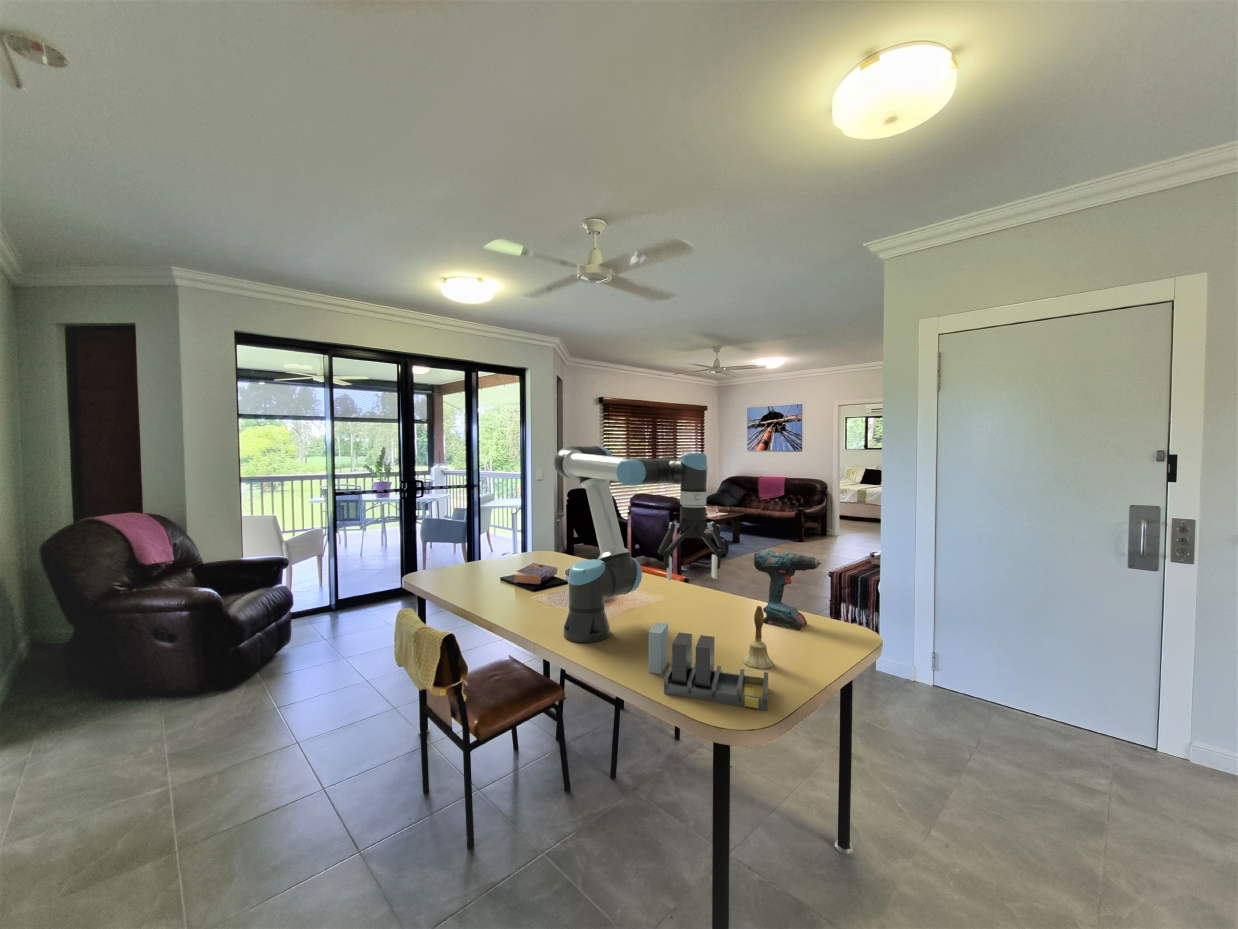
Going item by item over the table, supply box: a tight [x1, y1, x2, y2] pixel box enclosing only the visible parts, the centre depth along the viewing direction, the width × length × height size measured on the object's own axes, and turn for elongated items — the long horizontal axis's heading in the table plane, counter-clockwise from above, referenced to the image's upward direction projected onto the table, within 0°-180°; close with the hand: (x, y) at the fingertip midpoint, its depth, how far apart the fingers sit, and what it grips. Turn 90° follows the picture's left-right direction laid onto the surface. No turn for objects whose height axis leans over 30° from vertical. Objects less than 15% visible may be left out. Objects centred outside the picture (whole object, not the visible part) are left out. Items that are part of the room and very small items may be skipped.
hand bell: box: [742, 605, 774, 670], centre depth 136 cm, size 8×8×16 cm
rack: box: [663, 631, 769, 711], centre depth 119 cm, size 24×12×12 cm, turn 71°
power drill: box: [753, 550, 822, 631], centre depth 167 cm, size 9×23×25 cm, turn 53°
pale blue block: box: [647, 621, 669, 675], centre depth 133 cm, size 4×8×11 cm, turn 161°
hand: (691, 578), depth 140 cm, fingers open, 13 cm apart
